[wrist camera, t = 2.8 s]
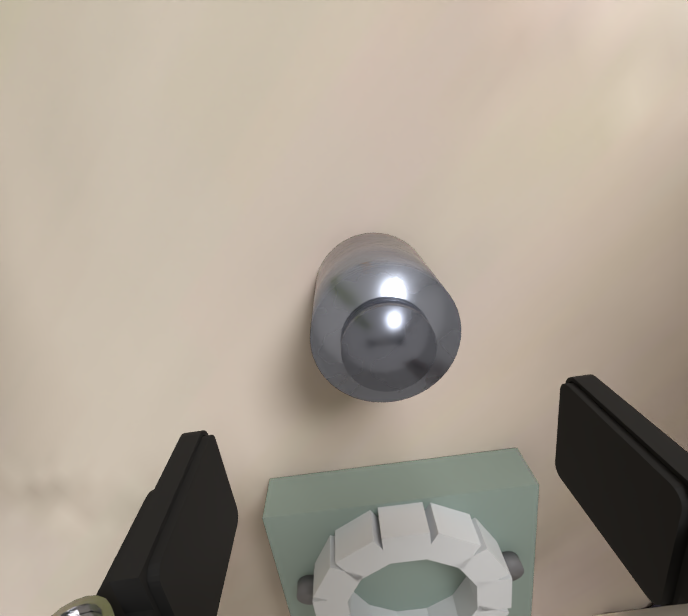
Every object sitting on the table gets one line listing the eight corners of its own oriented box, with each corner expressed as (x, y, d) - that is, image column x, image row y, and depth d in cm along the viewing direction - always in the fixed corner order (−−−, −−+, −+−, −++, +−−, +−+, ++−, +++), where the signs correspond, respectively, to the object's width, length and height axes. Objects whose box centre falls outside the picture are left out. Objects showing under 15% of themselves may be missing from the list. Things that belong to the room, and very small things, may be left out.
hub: (424, 225, 20) (467, 262, 14) (431, 331, 23) (470, 406, 16) (307, 241, 21) (295, 286, 14) (325, 345, 23) (321, 425, 16)
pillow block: (516, 447, 26) (557, 514, 21) (512, 573, 30) (545, 651, 26) (269, 478, 26) (256, 550, 22) (301, 598, 31) (296, 679, 26)
